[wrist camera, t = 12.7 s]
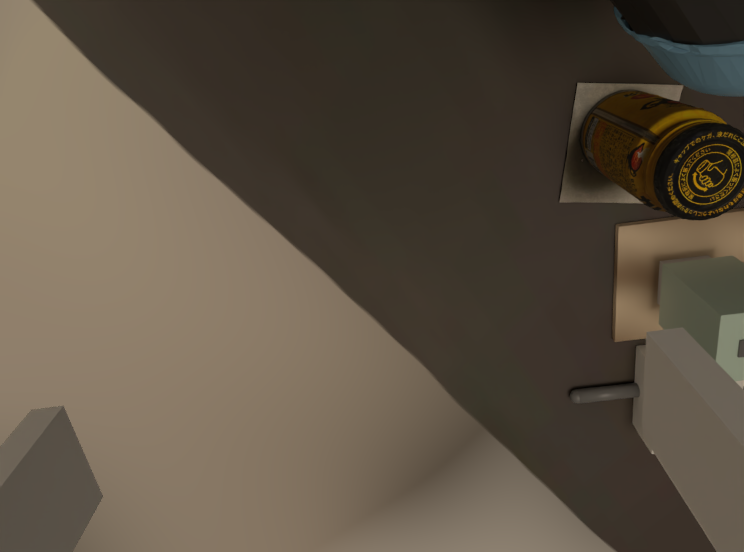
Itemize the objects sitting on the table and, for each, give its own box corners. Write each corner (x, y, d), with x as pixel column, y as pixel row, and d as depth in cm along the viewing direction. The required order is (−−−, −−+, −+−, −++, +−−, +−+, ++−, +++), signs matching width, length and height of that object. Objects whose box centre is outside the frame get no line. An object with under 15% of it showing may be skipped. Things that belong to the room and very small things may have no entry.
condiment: (682, 84, 41) (794, 112, 30) (655, 203, 45) (748, 266, 34) (576, 82, 41) (651, 109, 30) (557, 201, 44) (618, 264, 34)
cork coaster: (615, 224, 45) (618, 226, 45) (751, 206, 45) (756, 209, 44) (612, 338, 49) (614, 341, 49) (736, 323, 49) (740, 327, 48)
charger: (650, 253, 45) (722, 316, 36) (717, 245, 45) (807, 306, 36) (647, 311, 48) (714, 385, 38) (711, 303, 47) (794, 376, 38)
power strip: (568, 430, 53) (584, 463, 49) (568, 353, 50) (584, 383, 46) (866, 397, 52) (907, 429, 48) (886, 316, 48) (932, 343, 44)
